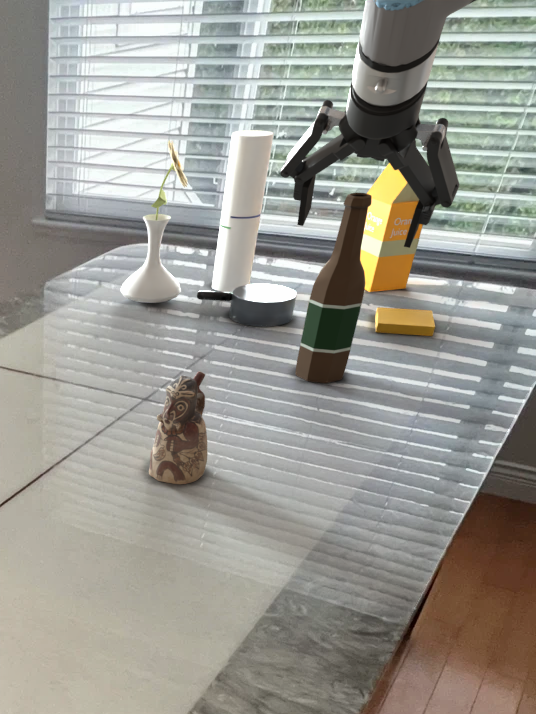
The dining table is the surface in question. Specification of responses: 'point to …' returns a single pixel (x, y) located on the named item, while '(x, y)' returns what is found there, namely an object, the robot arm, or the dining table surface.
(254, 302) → the steel pan
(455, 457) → the dining table surface
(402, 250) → the orange juice
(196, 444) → the figurine
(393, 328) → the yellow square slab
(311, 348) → the beer bottle
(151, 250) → the flower in vase
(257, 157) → the cylindrical container
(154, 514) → the dining table surface
